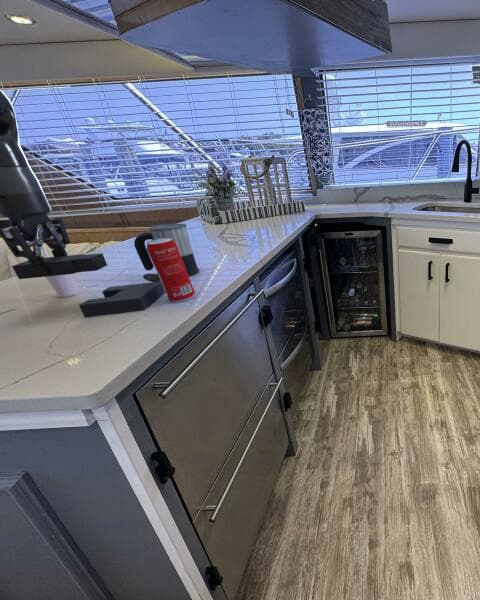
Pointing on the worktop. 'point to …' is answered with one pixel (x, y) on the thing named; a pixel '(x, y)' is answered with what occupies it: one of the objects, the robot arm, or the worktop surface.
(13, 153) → the robot arm
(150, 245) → the beverage can
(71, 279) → the smoothie
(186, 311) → the worktop surface
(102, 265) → the pad
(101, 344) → the worktop surface
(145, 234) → the milk frother
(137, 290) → the notch pad
